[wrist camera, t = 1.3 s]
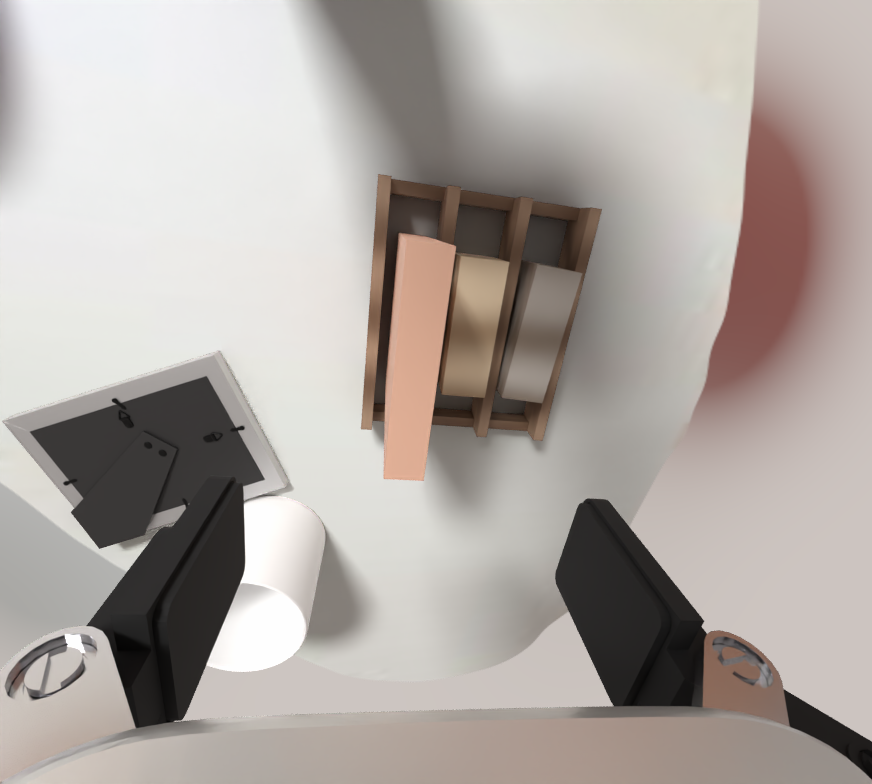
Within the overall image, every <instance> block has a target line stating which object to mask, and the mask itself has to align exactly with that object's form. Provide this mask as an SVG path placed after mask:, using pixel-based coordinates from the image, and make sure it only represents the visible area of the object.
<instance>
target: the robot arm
mask: <svg viewBox="0 0 872 784" xmlns="http://www.w3.org/2000/svg"><path fill="white" fill-rule="evenodd" d="M245 562H246V560H245V525H244V491H243V484H242V483H236V478H235V477H232V476H215V475H211V476H209V477H208V478H207V480H206V481H205V482H204V484H203V485H202V487H201V488H200V489H199V491H198V492H197V494H196V495H195V496H194V498H193V499H192V501H191V502H190V503H189V505H188V506H187V508H186V509H185V510H184V512H183V513H182V515H181V516H180V517H179V519H178V520H177V522H176V523H175V524H174V526H173V527H164V528H162V529H160V530H159V531H158V532H157V533H156V534H155V536H154V537H153V538H152V540H151V541H150V542H149V544H148V545H147V546H146V548H145V549H144V550H143V552H142V553H141V554H140V556H139V557H138V558H137V560H136V561H135V562H134V564H133V565H132V566H131V568H130V569H129V570H128V572H127V573H126V574H125V576H124V577H123V578H122V580H121V581H120V582H119V583H118V585H117V586H116V587H115V589H114V590H113V591H112V593H111V594H110V595H109V597H108V598H107V599H106V601H105V602H104V604H103V605H102V606H101V607H100V609H99V610H98V611H97V613H96V614H95V615H94V617H93V618H92V619H91V621H90V622H89V623H88V625H87V626H76V627H69V628H64V629H61V630H58V631H56V632H53V633H50V634H47V635H45V636H44V637H41V638H39V639H38V640H36V641H34V642H32V643H30V644H29V645H27V646H26V647H25V648H23V649H22V650H21V651H19V652H18V653H17V654H15V655H14V656H13V657H12V658H11V659H10V660H9V661H8V662H7V663H6V664H5V665H4V666H3V667H2V668H1V670H0V784H872V742H871V741H870V740H868V739H866V738H865V737H863V736H861V735H860V734H858V733H856V732H854V731H853V730H851V729H850V728H848V727H846V726H844V725H843V724H841V723H839V722H838V721H836V720H834V719H833V718H831V717H829V716H828V715H826V714H824V713H823V712H821V711H819V710H818V709H816V708H814V707H812V706H811V705H809V704H807V703H806V702H804V701H802V700H801V699H799V698H797V697H796V696H794V695H792V694H791V693H789V692H787V691H786V690H784V689H783V685H782V680H781V678H780V675H779V673H778V671H777V670H776V668H775V667H774V665H773V664H772V662H771V661H770V660H769V659H768V658H767V657H766V656H765V655H764V654H763V653H762V652H761V651H759V650H758V649H757V648H756V647H754V646H753V645H752V644H751V643H749V642H747V641H745V640H744V639H742V638H741V637H738V636H736V635H734V634H731V633H729V632H724V631H711V632H709V633H708V634H707V633H706V632H705V631H704V629H703V628H702V627H701V626H702V624H703V622H704V620H703V619H702V618H701V616H700V615H699V614H698V613H697V611H696V610H695V609H694V608H693V607H692V605H691V604H690V603H689V601H688V600H687V599H686V598H685V596H684V595H683V594H682V593H681V591H680V590H679V589H678V587H677V586H676V585H675V584H674V583H673V581H672V580H671V579H670V577H669V576H668V575H667V574H666V572H665V571H664V570H663V569H662V568H661V566H660V565H659V564H658V562H657V561H656V560H655V559H654V557H653V556H652V555H651V554H650V552H649V551H648V550H647V549H646V547H645V546H644V545H643V544H642V542H641V541H640V540H639V539H638V537H637V536H636V535H635V534H634V532H633V531H632V530H631V528H630V527H629V526H628V525H627V523H626V522H625V521H624V520H623V518H622V517H621V516H620V515H619V513H618V512H617V511H616V510H615V508H614V507H613V506H612V505H611V503H610V502H609V501H608V500H604V499H586V500H585V501H584V502H583V503H581V504H579V506H578V508H577V511H576V514H575V517H574V520H573V522H572V525H571V528H570V531H569V534H568V537H567V540H566V543H565V546H564V549H563V552H562V555H561V558H560V561H559V564H558V567H557V570H556V574H555V579H556V584H557V587H558V589H559V591H560V593H561V595H562V597H563V600H564V602H565V604H566V606H567V608H568V610H569V612H570V615H571V617H572V619H573V621H574V623H575V625H576V627H577V630H578V632H579V634H580V636H581V638H582V640H583V642H584V645H585V647H586V649H587V651H588V653H589V655H590V657H591V660H592V662H593V664H594V666H595V668H596V670H597V673H598V675H599V677H600V679H601V681H602V683H603V685H604V687H605V690H606V692H607V694H608V696H609V698H610V700H611V702H612V703H613V705H614V706H613V707H559V708H558V707H557V708H512V709H510V708H509V709H468V710H431V711H430V710H429V711H395V712H394V711H392V712H363V713H362V712H361V713H329V714H328V713H327V714H295V715H273V716H252V717H233V718H212V719H201V720H191V721H181V722H174V721H176V720H177V721H178V720H182V719H183V718H184V716H185V714H186V712H187V710H188V708H189V705H190V703H191V700H192V698H193V696H194V693H195V691H196V688H197V686H198V683H199V681H200V679H201V676H202V674H203V671H204V669H205V666H206V664H207V662H208V659H209V657H210V655H211V652H212V650H213V647H214V645H215V643H216V640H217V638H218V635H219V633H220V631H221V628H222V626H223V623H224V621H225V618H226V616H227V614H228V611H229V609H230V606H231V604H232V602H233V599H234V597H235V594H236V592H237V590H238V587H239V585H240V582H241V580H242V577H243V574H244V570H245Z"/></svg>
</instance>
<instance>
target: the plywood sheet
mask: <svg viewBox="0 0 872 784" xmlns="http://www.w3.org/2000/svg"><path fill="white" fill-rule="evenodd" d="M455 251H456V246H454V245H451V244H448V243H445V242H442V241H439V240H436V239H433V238H430V237H427V236H421V235H413V234H406V233H399V232H398V243H397V254H396V265H395V277H394V288H393V299H392V311H391V322H390V333H389V345H388V356H387V367H386V383H385V433H384V479H398V480H419V481H424V474H425V466H426V459H427V452H428V445H429V438H430V431H431V423H432V416H433V409H434V402H435V395H436V387H437V380H438V373H439V366H440V359H441V352H442V344H443V337H444V330H445V323H446V316H447V308H448V301H449V294H450V287H451V280H452V272H453V265H454V258H455Z"/></svg>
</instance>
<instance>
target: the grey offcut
mask: <svg viewBox="0 0 872 784" xmlns="http://www.w3.org/2000/svg"><path fill="white" fill-rule="evenodd" d="M581 276H582V273H579V272H575V271H571V270H567V269H563V268H560V267H556V266H550V265H545V264H540V263H535V262H530V261H525V260H521V264H520V269H519V274H518V279H517V284H516V289H515V294H514V300H513V305H512V310H511V315H510V320H509V325H508V330H507V335H506V340H505V345H504V350H503V355H502V360H501V365H500V370H499V375H498V380H497V385H496V390H497V391H498V393H499V394H500V396H501V397H502V398H506V399H514V400H521V401H529V402H536V403H542V402H543V399H544V396H545V393H546V390H547V386H548V383H549V380H550V377H551V373H552V370H553V367H554V364H555V360H556V357H557V354H558V351H559V347H560V344H561V341H562V338H563V335H564V331H565V328H566V325H567V322H568V318H569V315H570V312H571V309H572V305H573V302H574V299H575V296H576V292H577V289H578V286H579V283H580V280H581Z"/></svg>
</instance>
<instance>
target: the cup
mask: <svg viewBox="0 0 872 784" xmlns="http://www.w3.org/2000/svg"><path fill="white" fill-rule="evenodd" d="M244 525H245V560H246V562H245V570H244V574H243V577H242V580H241V582H240V585H239V587H238V590H237V592H236V594H235V597H234V599H233V602H232V604H231V606H230V609H229V611H228V614H227V616H226V618H225V621H224V623H223V626H222V628H221V631H220V633H219V635H218V638H217V640H216V643H215V645H214V647H213V650H212V652H211V655H210V657H209V659H208V662H207V664H206V665H208V666H211V667H214V668H218V669H221V670H228V671H255V670H262V669H265V668H269V667H272V666H274V665H277V664H279V663H281V662H283V661H285V660H286V659H288V658H289V657H291V656H292V655H294V654H295V653H296V652H297V650H298V649H299V648H300V647H301V646H302V644H303V643H304V641H305V639H306V636H307V632H308V627H309V622H310V617H311V612H312V607H313V602H314V597H315V592H316V587H317V582H318V577H319V572H320V567H321V562H322V557H323V552H324V547H325V540H326V537H325V529H324V526H323V523H322V522H321V520H320V518H319V517H318V516H317V515H316V514H315V513H314V512H313V511H312V509H310V508H309V507H307V506H306V505H304V504H303V503H300V502H298V501H296V500H293V499H290V498H286V497H281V496H262V497H257V498H253V499H249V500H247V501H245V502H244Z"/></svg>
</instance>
